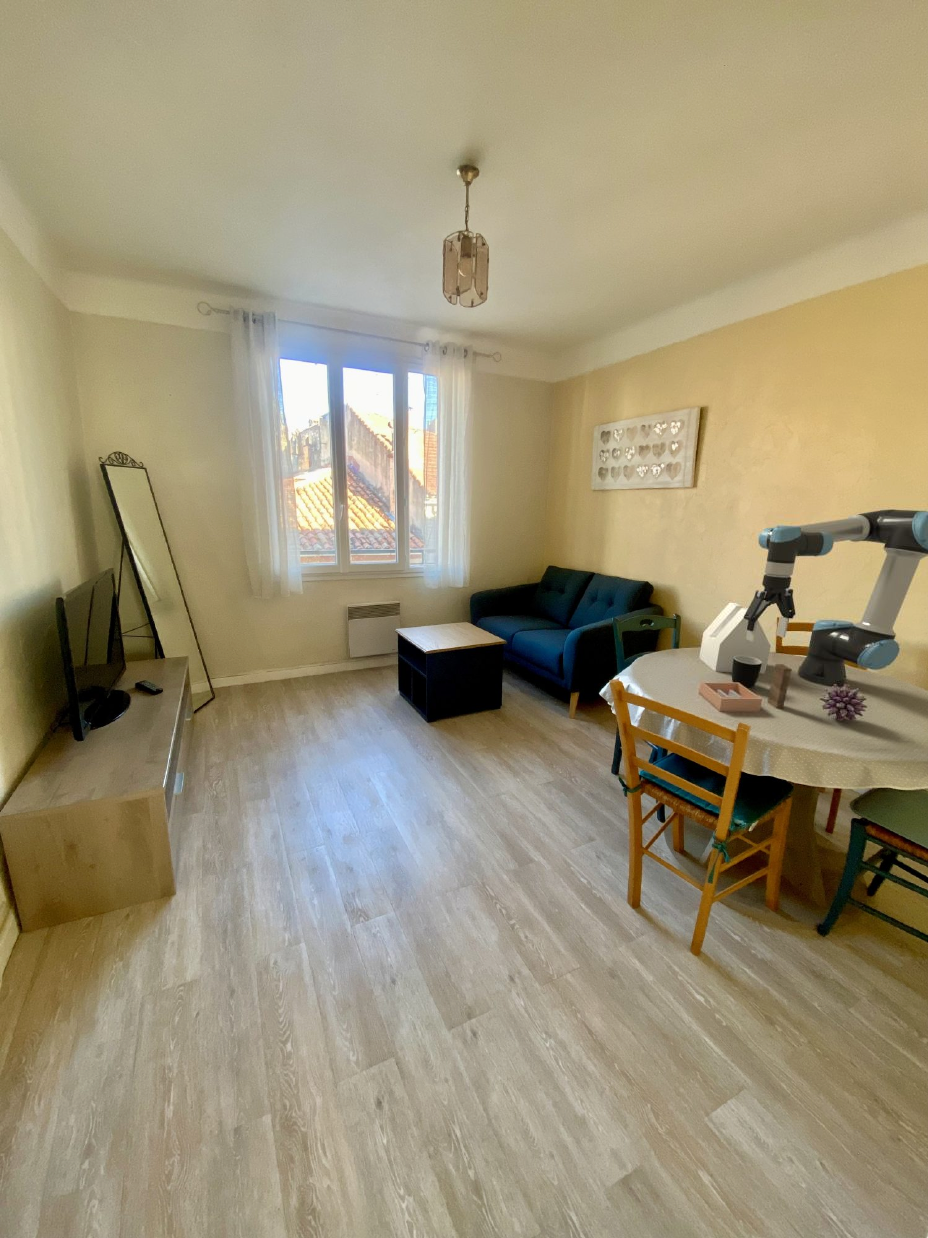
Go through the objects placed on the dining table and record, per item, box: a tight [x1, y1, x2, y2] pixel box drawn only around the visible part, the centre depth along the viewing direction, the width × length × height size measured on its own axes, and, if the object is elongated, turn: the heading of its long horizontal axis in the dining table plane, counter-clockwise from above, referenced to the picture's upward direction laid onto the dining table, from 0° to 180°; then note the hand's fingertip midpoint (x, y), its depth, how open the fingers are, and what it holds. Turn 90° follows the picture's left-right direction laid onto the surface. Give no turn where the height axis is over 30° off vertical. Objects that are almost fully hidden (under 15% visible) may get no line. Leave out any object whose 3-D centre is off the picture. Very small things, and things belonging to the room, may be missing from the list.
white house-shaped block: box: [698, 601, 772, 674], centre depth 193 cm, size 19×15×25 cm
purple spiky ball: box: [819, 683, 868, 722], centre depth 149 cm, size 12×12×12 cm
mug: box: [731, 656, 762, 690], centre depth 176 cm, size 12×9×10 cm
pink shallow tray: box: [698, 681, 763, 713], centre depth 161 cm, size 13×13×4 cm
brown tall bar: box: [767, 663, 792, 709], centre depth 158 cm, size 2×4×14 cm, turn 2°
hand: (765, 638), depth 158 cm, fingers open, 13 cm apart
